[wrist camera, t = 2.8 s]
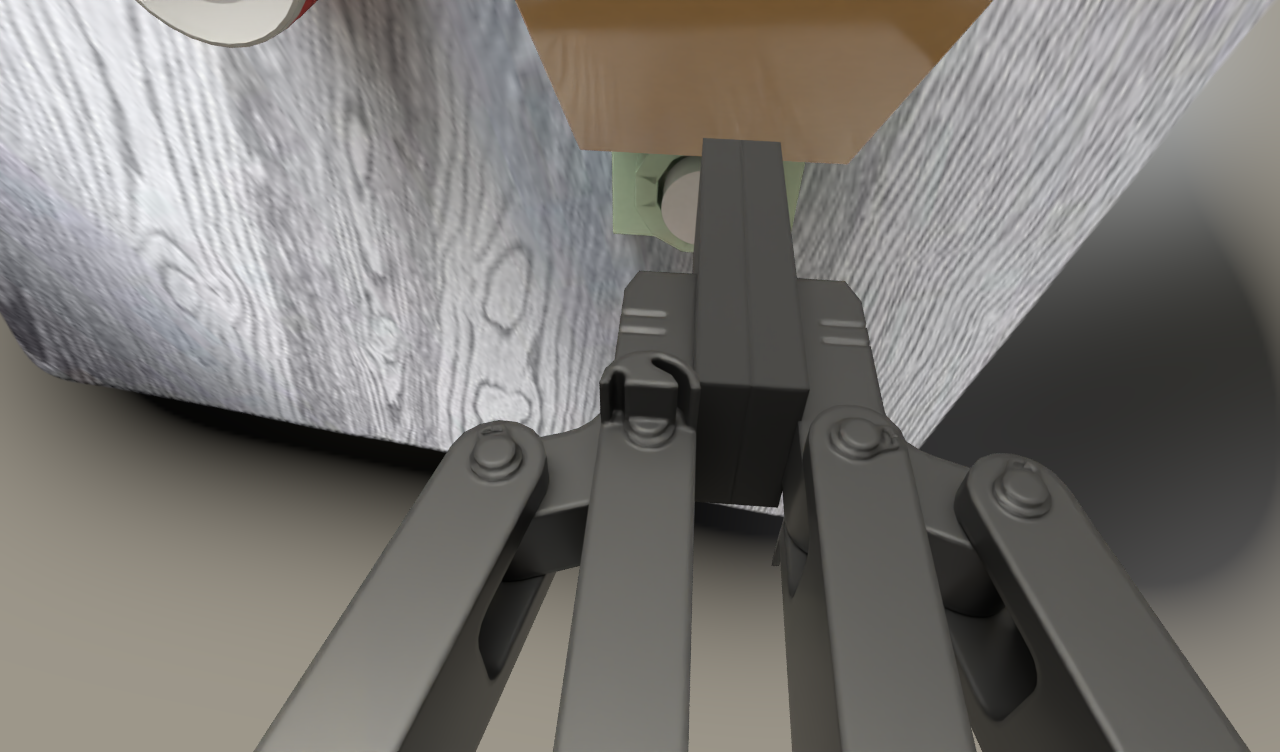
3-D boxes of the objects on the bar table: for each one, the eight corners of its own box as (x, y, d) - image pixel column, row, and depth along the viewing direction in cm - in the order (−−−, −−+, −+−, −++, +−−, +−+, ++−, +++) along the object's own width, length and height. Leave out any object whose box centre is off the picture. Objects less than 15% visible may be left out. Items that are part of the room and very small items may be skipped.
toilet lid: (503, -57, 17) (501, -27, 17) (1002, -36, 16) (999, -5, 16) (580, 133, 31) (579, 150, 31) (849, 148, 30) (848, 165, 30)
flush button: (661, 224, 39) (659, 243, 38) (664, 149, 36) (662, 167, 35) (743, 229, 39) (744, 248, 38) (754, 154, 36) (755, 172, 34)
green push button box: (618, 202, 44) (609, 253, 40) (617, 70, 38) (607, 115, 34) (785, 212, 43) (790, 264, 40) (810, 80, 37) (819, 126, 34)
